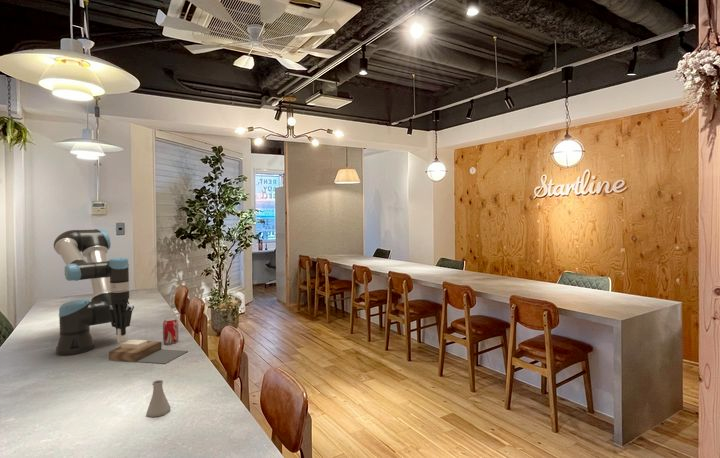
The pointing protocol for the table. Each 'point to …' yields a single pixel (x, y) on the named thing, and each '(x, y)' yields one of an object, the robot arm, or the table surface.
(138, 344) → the tile
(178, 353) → the mat
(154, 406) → the flask
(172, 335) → the soda can
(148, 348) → the deck
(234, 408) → the table surface
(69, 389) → the table surface
